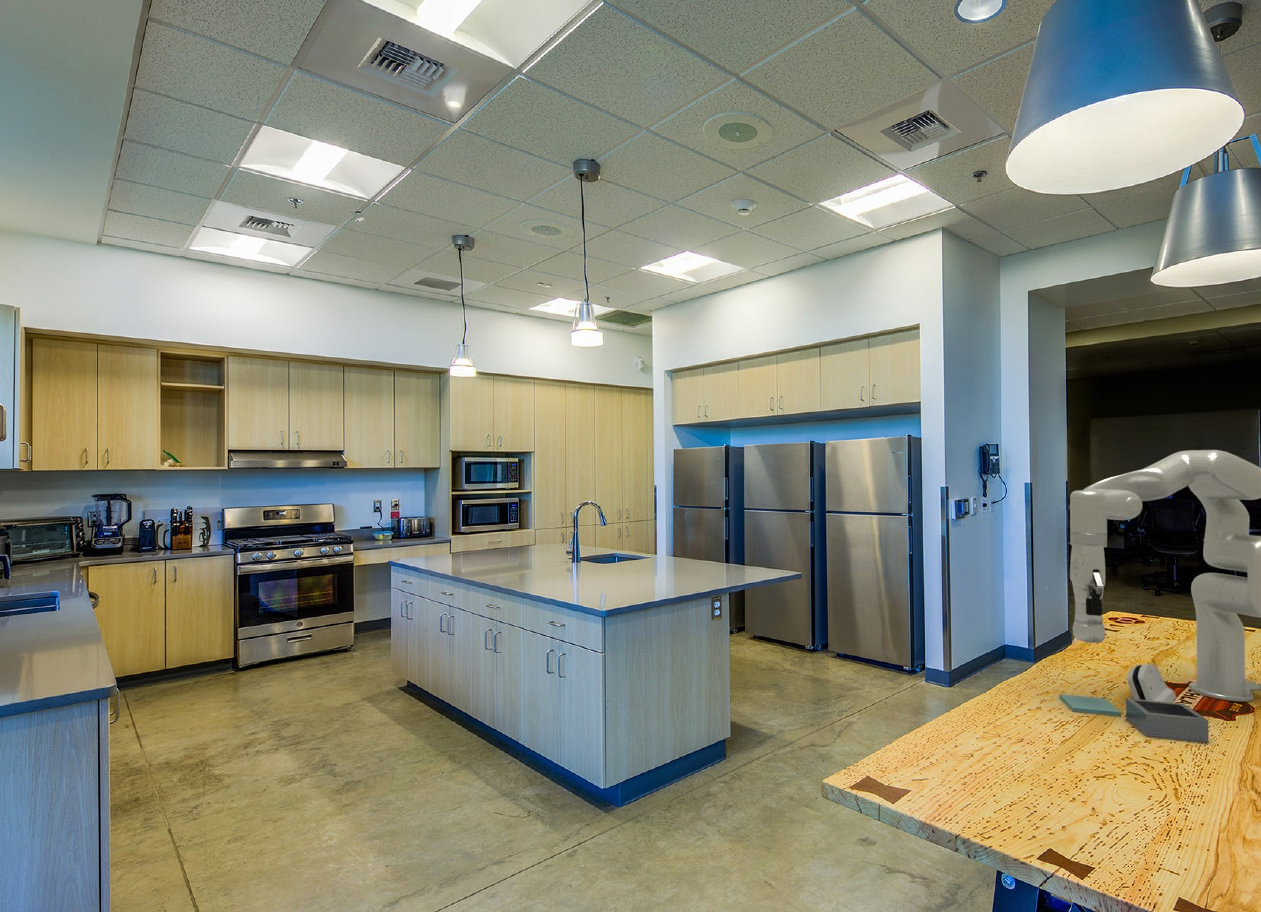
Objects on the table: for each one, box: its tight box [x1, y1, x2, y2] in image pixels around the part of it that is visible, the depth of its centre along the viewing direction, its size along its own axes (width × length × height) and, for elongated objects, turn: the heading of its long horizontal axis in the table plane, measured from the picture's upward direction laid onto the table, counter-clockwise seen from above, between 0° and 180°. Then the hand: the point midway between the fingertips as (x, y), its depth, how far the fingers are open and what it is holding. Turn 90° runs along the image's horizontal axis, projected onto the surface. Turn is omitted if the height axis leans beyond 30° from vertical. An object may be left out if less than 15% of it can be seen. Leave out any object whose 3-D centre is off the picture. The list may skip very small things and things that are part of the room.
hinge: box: [1126, 663, 1177, 703], centre depth 168 cm, size 17×5×10 cm, turn 131°
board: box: [1058, 693, 1122, 718], centre depth 163 cm, size 10×10×1 cm
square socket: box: [1125, 697, 1209, 744], centre depth 149 cm, size 11×10×5 cm
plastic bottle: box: [1071, 577, 1106, 644], centre depth 164 cm, size 6×7×20 cm
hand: (1088, 611), depth 164 cm, fingers closed on plastic bottle, 6 cm apart
